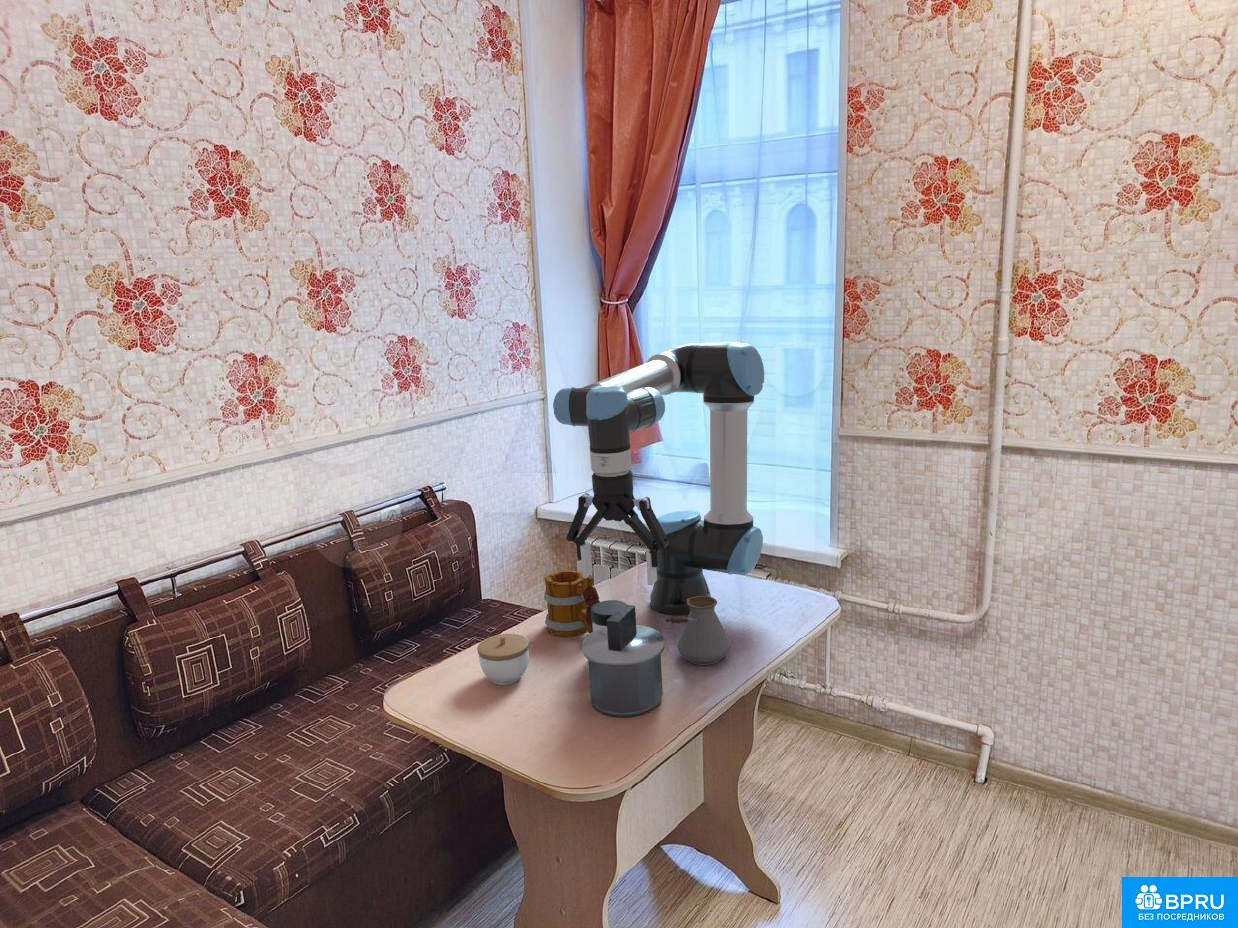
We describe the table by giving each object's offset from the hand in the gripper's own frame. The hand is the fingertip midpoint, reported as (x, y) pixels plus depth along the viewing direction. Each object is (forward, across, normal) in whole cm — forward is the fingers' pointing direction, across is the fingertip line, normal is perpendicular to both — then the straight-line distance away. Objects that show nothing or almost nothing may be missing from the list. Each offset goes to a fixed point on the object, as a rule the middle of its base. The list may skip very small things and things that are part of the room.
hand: (619, 579), depth 158 cm
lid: (+15, 0, 0) cm, 15 cm away
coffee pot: (+26, +8, +16) cm, 31 cm away
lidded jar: (+25, -28, -1) cm, 38 cm away
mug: (+26, -24, +25) cm, 43 cm away
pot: (+25, -2, +1) cm, 25 cm away
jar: (+25, -10, +14) cm, 31 cm away
